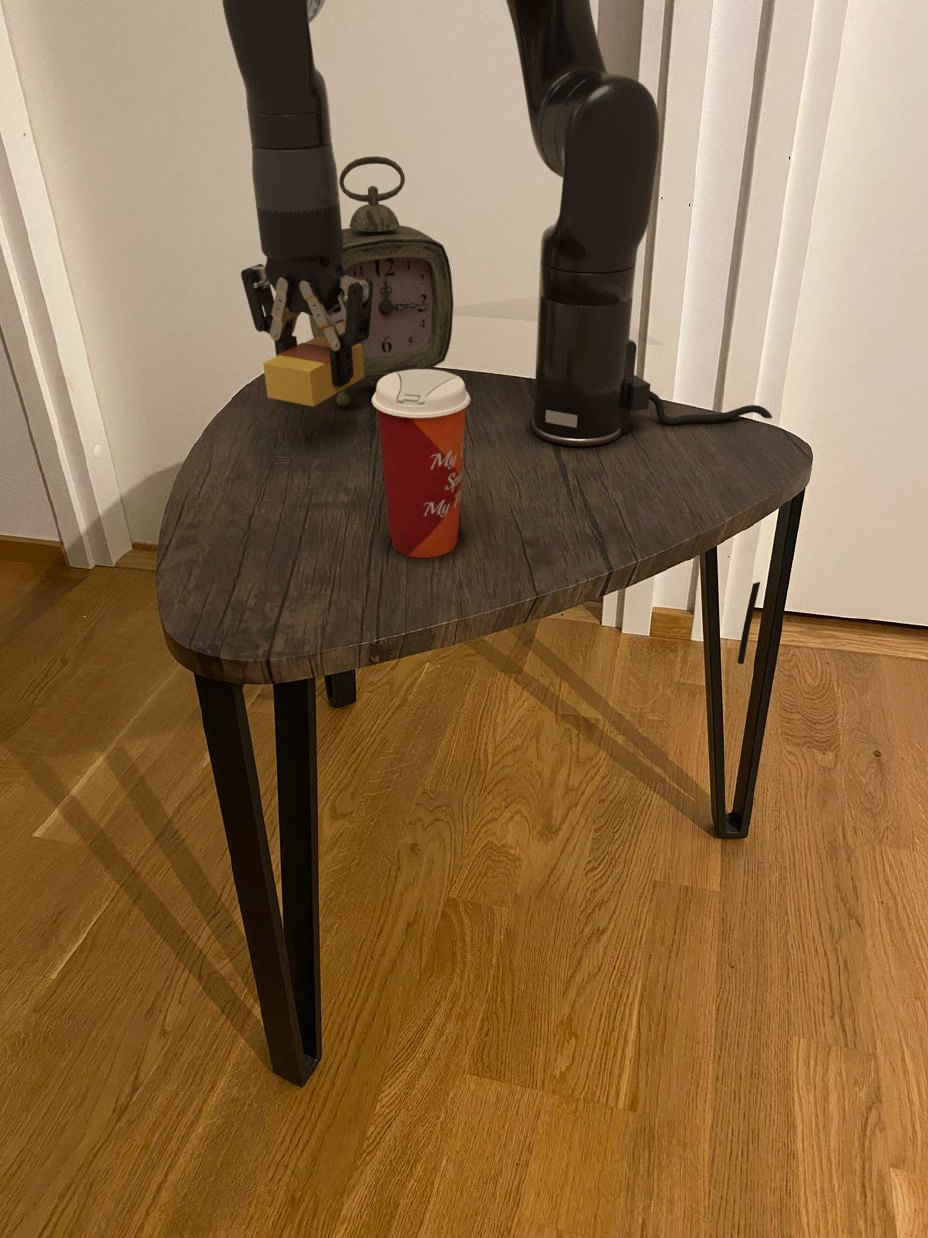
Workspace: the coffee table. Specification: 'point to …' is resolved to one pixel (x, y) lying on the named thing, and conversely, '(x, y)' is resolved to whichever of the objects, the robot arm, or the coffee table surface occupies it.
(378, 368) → the tabletop clock
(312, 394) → the tea packet
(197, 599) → the coffee table surface
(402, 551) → the paper cup
